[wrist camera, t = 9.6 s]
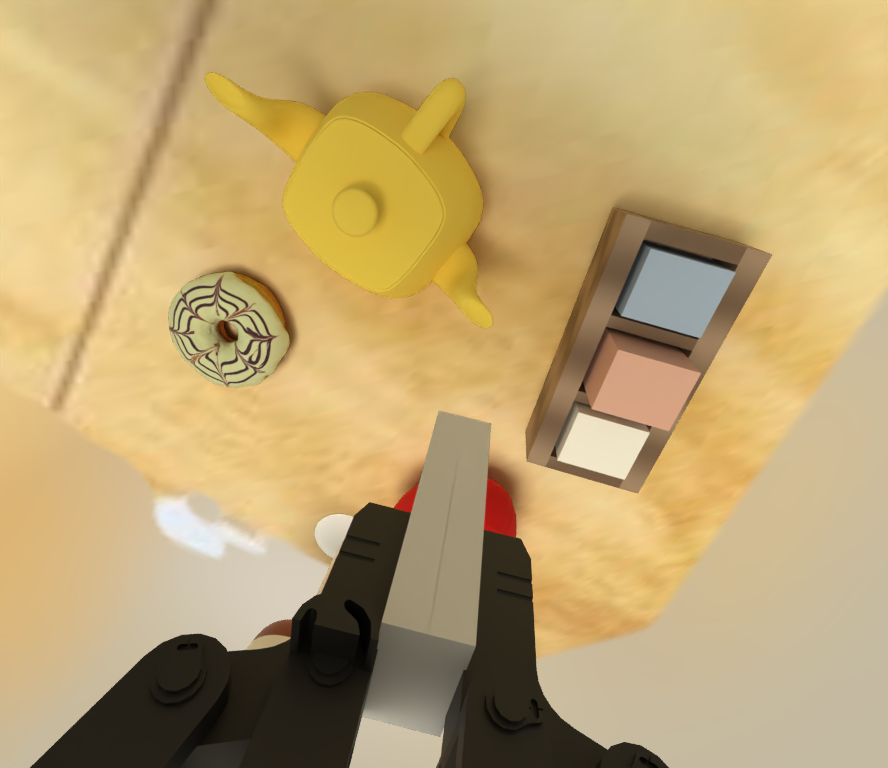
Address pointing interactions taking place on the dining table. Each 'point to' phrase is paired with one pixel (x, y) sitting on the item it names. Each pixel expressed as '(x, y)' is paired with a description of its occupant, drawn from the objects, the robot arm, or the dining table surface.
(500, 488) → the tomato
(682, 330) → the slate key
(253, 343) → the decorated donut
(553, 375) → the key block
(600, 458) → the ivory key
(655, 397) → the terracotta key
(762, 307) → the dining table surface
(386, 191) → the teapot
